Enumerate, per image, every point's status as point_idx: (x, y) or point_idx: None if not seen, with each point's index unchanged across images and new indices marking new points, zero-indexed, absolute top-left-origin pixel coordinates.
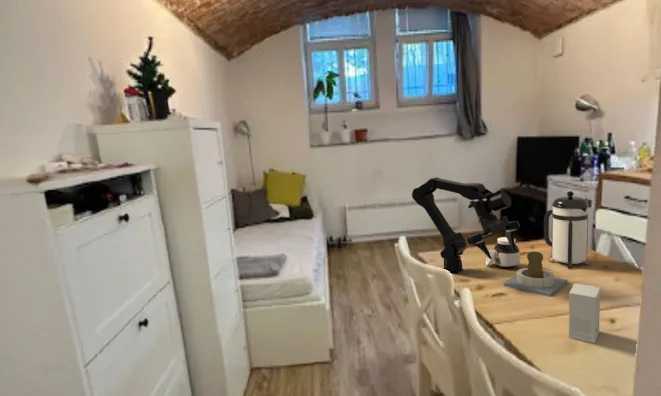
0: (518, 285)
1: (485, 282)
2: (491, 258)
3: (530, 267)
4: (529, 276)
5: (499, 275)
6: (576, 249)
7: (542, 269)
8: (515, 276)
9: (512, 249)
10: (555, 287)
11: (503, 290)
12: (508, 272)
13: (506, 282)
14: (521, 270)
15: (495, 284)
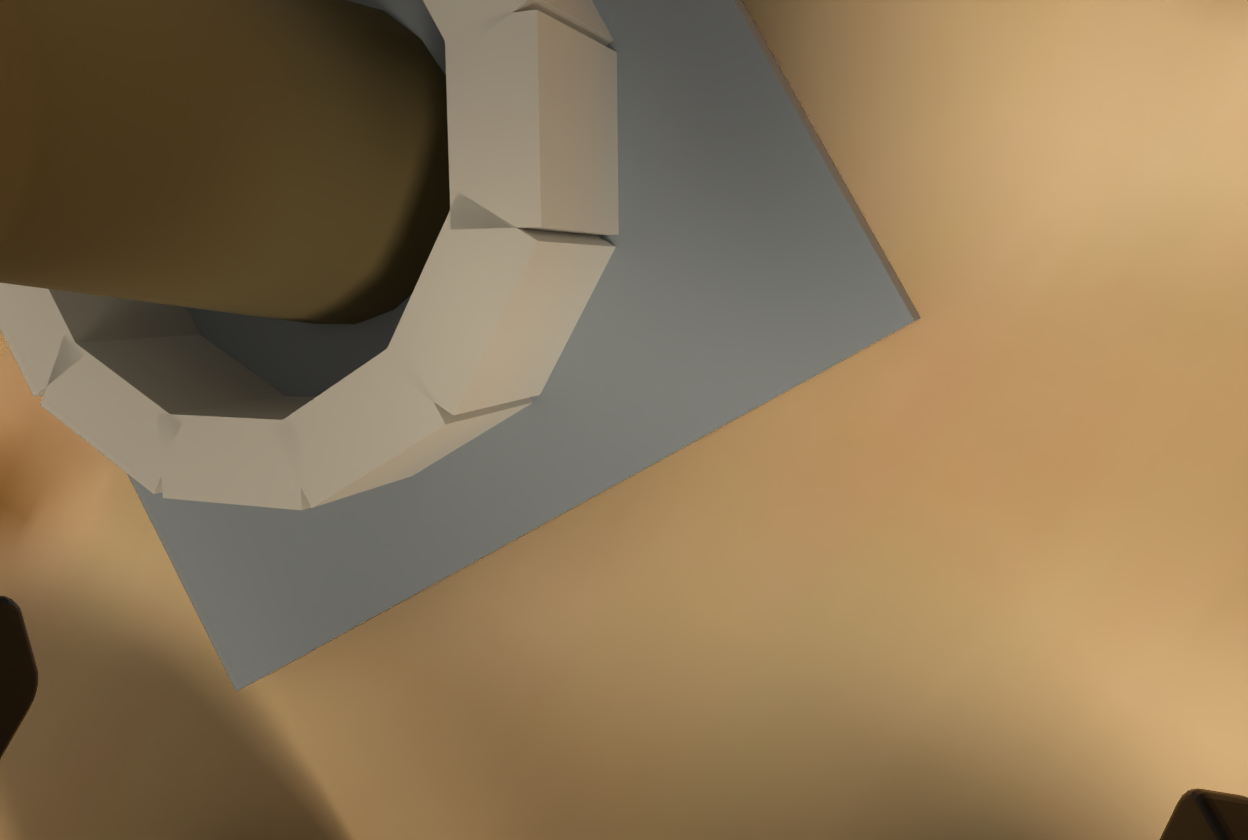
0: (715, 70)
1: (1185, 643)
2: (1190, 790)
3: (189, 81)
4: (368, 113)
5: (656, 804)
6: None
7: (3, 301)
8: (482, 526)
9: (6, 717)
10: None
11: (1113, 61)
12: (434, 830)
13: (840, 314)
14: (337, 426)
15: (1045, 443)
